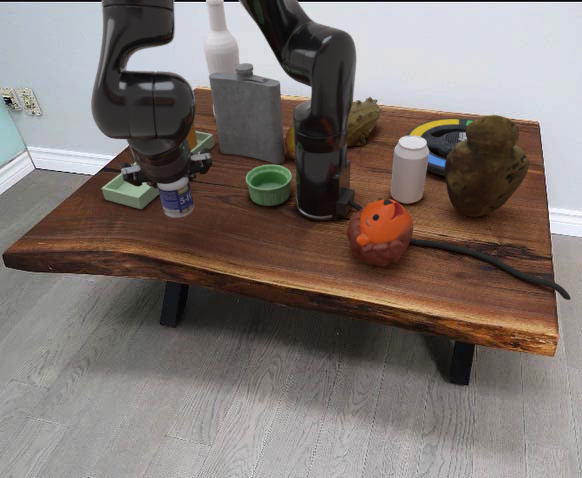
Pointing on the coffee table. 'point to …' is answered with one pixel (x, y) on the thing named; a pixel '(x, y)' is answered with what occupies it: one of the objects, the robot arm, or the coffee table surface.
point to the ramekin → (269, 184)
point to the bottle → (220, 42)
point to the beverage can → (409, 169)
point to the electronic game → (441, 139)
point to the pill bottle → (176, 198)
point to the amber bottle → (192, 138)
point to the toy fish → (380, 232)
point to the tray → (144, 193)
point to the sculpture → (485, 166)
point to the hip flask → (248, 114)
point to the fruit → (290, 142)
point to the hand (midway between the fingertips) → (172, 179)
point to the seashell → (362, 121)
